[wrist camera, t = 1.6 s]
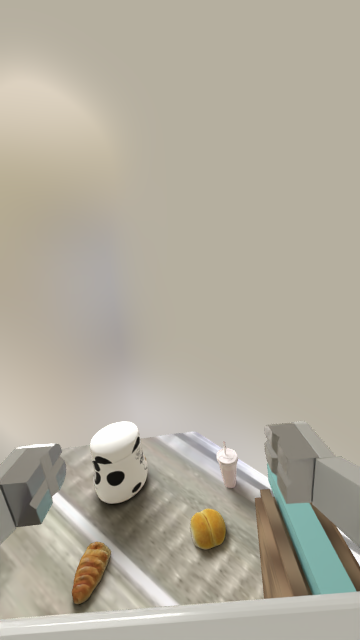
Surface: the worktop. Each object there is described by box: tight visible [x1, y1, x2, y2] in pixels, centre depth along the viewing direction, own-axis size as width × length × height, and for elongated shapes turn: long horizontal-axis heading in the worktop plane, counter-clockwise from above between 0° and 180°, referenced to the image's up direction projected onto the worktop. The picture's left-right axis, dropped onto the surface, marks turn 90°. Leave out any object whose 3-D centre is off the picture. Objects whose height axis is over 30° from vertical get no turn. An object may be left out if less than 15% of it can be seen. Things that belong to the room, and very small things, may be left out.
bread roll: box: [190, 509, 226, 550], centre depth 54 cm, size 8×9×4 cm
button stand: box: [255, 489, 360, 599], centre depth 29 cm, size 14×11×28 cm
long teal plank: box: [267, 463, 357, 595], centre depth 25 cm, size 26×4×4 cm, turn 176°
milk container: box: [90, 422, 147, 504], centre depth 70 cm, size 17×17×18 cm
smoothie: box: [217, 441, 238, 488], centre depth 66 cm, size 6×6×14 cm
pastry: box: [72, 542, 111, 604], centre depth 48 cm, size 9×7×4 cm
